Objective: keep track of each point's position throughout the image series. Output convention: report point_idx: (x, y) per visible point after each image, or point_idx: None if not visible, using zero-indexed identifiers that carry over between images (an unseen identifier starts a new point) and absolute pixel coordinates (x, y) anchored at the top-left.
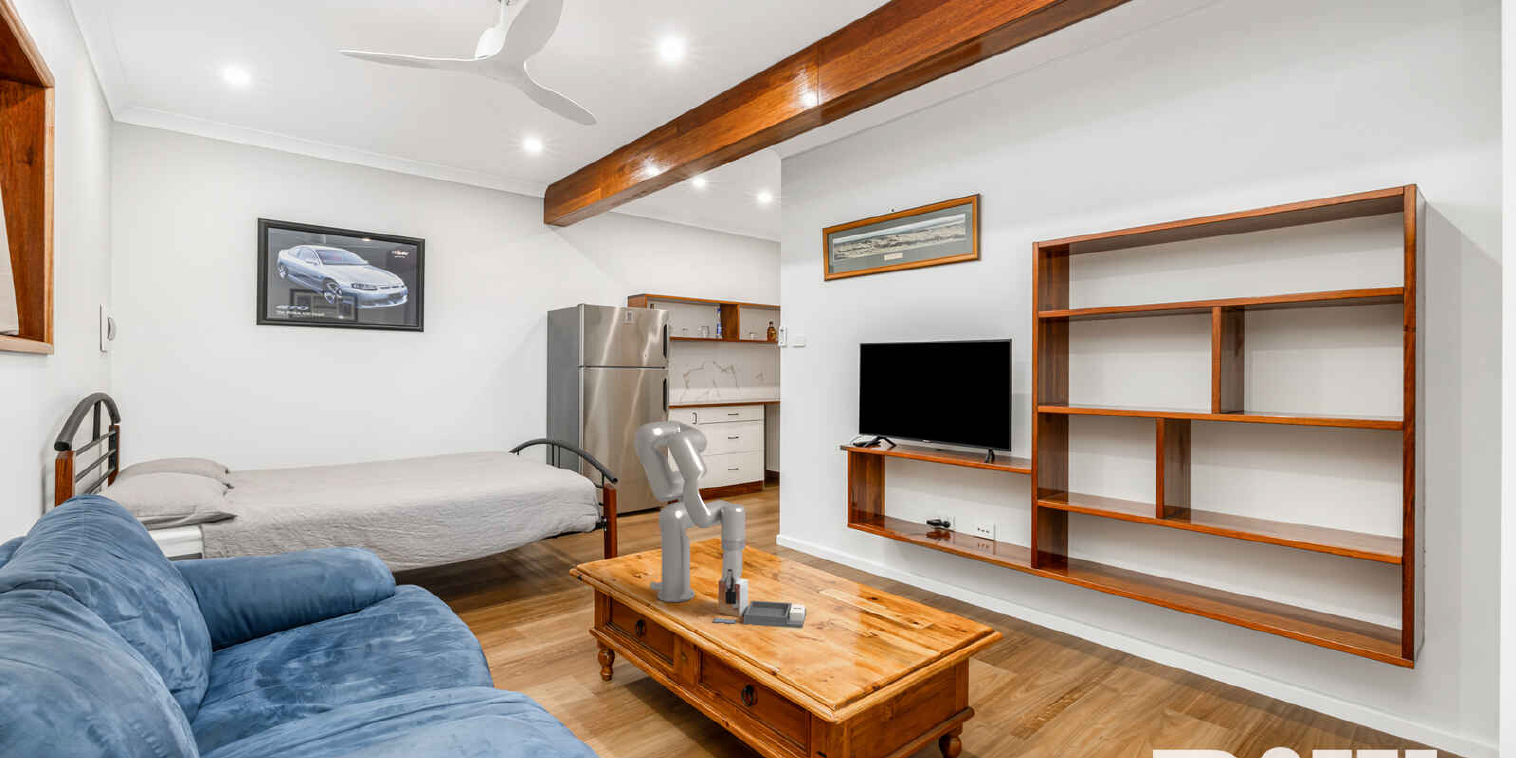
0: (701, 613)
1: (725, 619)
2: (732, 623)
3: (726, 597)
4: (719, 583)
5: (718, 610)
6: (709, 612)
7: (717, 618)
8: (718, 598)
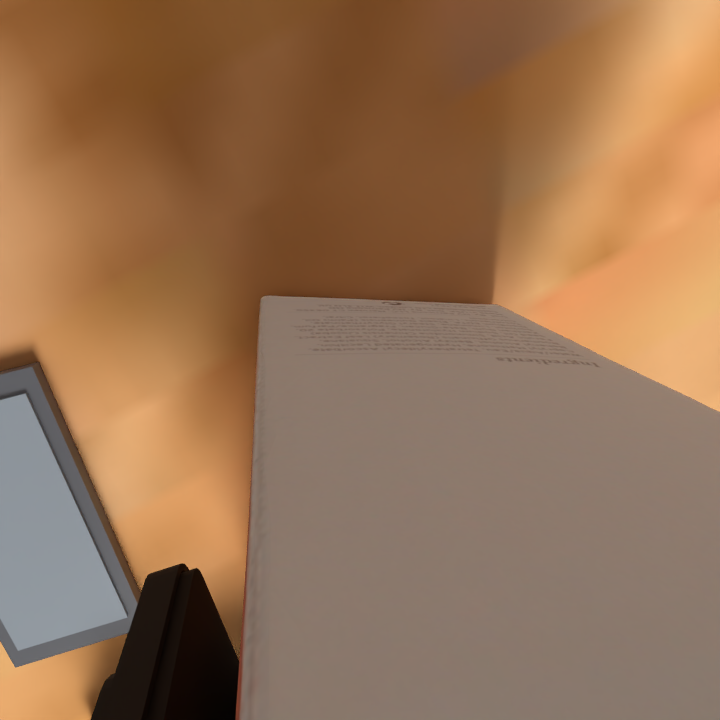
0: (115, 48)
1: (56, 523)
2: (5, 642)
3: (125, 684)
4: (244, 693)
5: (261, 306)
6: (221, 159)
7: (21, 415)
8: (258, 359)
